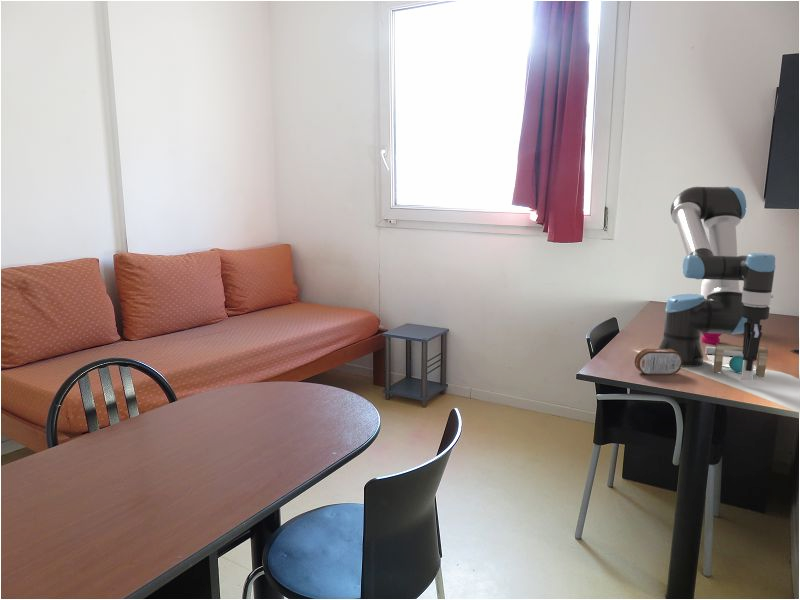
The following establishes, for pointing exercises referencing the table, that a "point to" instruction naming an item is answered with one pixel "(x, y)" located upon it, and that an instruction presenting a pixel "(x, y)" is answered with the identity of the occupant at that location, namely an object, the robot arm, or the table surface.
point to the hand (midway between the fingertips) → (746, 379)
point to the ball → (736, 363)
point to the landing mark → (725, 359)
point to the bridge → (721, 347)
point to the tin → (658, 361)
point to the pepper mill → (711, 338)
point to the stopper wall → (726, 352)
